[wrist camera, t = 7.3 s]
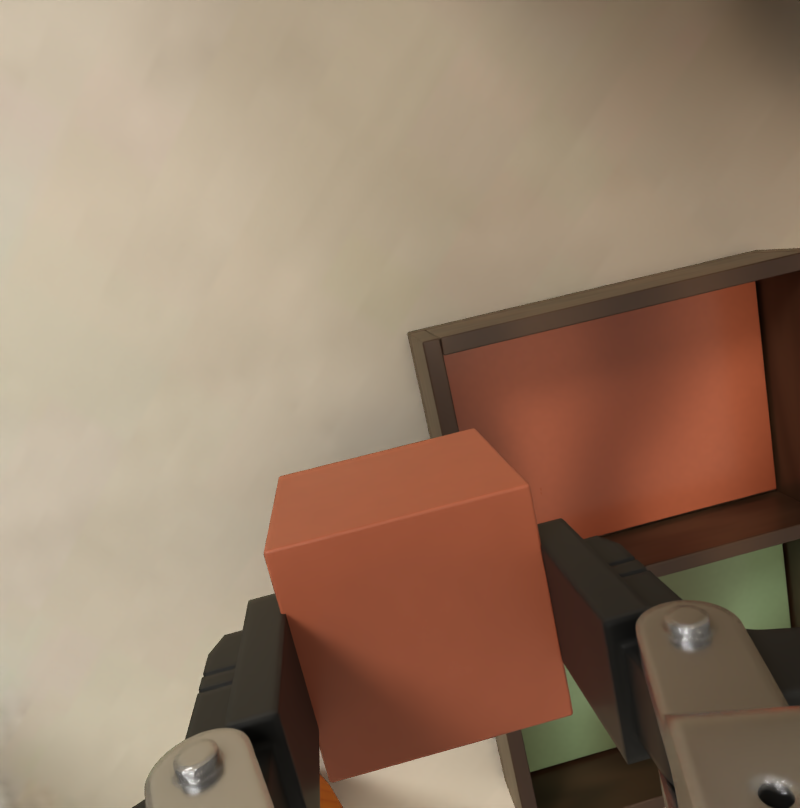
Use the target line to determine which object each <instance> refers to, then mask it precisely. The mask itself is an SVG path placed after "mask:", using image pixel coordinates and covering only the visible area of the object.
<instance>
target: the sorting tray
mask: <svg viewBox="0 0 800 808" xmlns="http://www.w3.org/2000/svg"><path fill="white" fill-rule="evenodd" d="M408 339H409V343H410V348H411V352H412V357H413V361H414V366H415V371H416V375H417V380H418V384H419V389H420V393H421V398H422V403H423V407H424V412H425V416H426V421H427V425H428V430H429V435H430V439H432V438H436V437H440V436H444V435H448V434H452V433H456V432H460V431H465V430H469V429H473V428H474V429H476V430H477V431H478V432H479V433H480V434H481V435H482V436H483V437H484V438H485V439H486V440H487V441H488V442H489V443H490V445H491V446H492V447H493V448H494V449H495V450H496V451H497V452H498V453H499V454H500V455H501V456H502V457H503V458H504V459H505V460H506V461H507V462H508V463H509V464H510V465H511V466H512V467H513V468H514V469H515V470H516V471H517V472H518V473H519V474H520V475H521V476H522V477H523V478H524V480H525V481H526V482H527V483H528V484H529V485H530V488H531V493H532V498H533V504H534V509H535V514H536V519H537V524H540V523H544V522H548V521H551V520H555V519H559V518H562V519H563V520H564V521H566V522H567V523H568V524H569V525H570V526H571V527H572V528H573V529H574V530H575V531H576V532H577V533H578V534H579V535H580V536H581V537H582V538H583V539H586V538H589V537H593V536H599V537H602V538H605V539H608V540H611V541H613V542H616V543H619V544H621V545H622V546H623V547H624V548H625V549H626V550H627V551H628V552H630V553H631V554H632V555H633V556H634V558H635V560H639V561H640V562H641V563H642V564H643V565H644V566H645V567H646V568H647V571H649V570H650V571H651V572H652V573H653V574H654V575H655V576H656V577H658V578H659V579H660V580H661V581H662V582H663V583H664V584H665V585H667V586H668V587H669V588H670V589H671V590H672V591H673V592H674V593H676V594H677V595H678V596H679V597H680V598H681V599H682V600H695V601H704V602H708V603H713V604H716V605H719V606H721V607H724V608H726V609H728V610H729V611H731V612H733V613H734V614H735V615H736V616H737V617H738V618H739V619H740V620H741V622H742V623H743V625H744V627H745V629H755V630H760V629H780V628H795V627H800V248H793V249H772V250H755V251H751V252H746V253H742V254H738V255H734V256H729V257H725V258H721V259H717V260H712V261H708V262H704V263H700V264H695V265H691V266H687V267H683V268H678V269H674V270H670V271H666V272H661V273H657V274H653V275H649V276H644V277H640V278H636V279H632V280H627V281H623V282H619V283H615V284H610V285H606V286H602V287H598V288H594V289H589V290H585V291H581V292H577V293H572V294H568V295H564V296H560V297H555V298H551V299H547V300H543V301H538V302H534V303H530V304H526V305H521V306H517V307H513V308H509V309H504V310H500V311H496V312H492V313H487V314H483V315H479V316H475V317H470V318H466V319H462V320H458V321H453V322H449V323H445V324H441V325H436V326H432V327H428V328H424V329H420V330H415V331H411V332H408ZM564 667H565V672H566V677H567V682H568V688H569V693H570V698H571V703H572V709H573V714H572V715H571V716H567V717H564V718H560V719H557V720H553V721H550V722H546V723H542V724H539V725H535V726H532V727H528V728H525V729H521V730H518V731H514V732H510V733H507V734H503V735H500V736H496V741H497V746H498V751H499V755H500V760H501V764H502V769H503V773H504V778H505V782H506V784H507V787H508V789H509V792H510V795H511V797H512V800H513V803H514V805H515V808H666V807H665V803H664V799H663V795H662V789H661V782H660V776H659V770H658V767H657V766H656V764H655V763H654V761H653V760H652V758H650V759H646V760H643V761H639V762H636V763H633V764H629V765H628V764H627V762H626V761H625V759H624V758H623V756H622V755H621V753H620V751H619V750H618V748H617V747H616V745H615V743H614V742H613V740H612V739H611V737H610V736H609V734H608V732H607V731H606V729H605V728H604V726H603V725H602V723H601V721H600V720H599V718H598V717H597V715H596V714H595V712H594V710H593V709H592V707H591V706H590V704H589V703H588V701H587V699H586V698H585V696H584V695H583V693H582V692H581V690H580V688H579V687H578V685H577V684H576V682H575V681H574V679H573V677H572V676H571V674H570V673H569V671H568V670H567V668H566V666H565V665H564Z"/></svg>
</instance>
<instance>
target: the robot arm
mask: <svg viewBox="0 0 800 808" xmlns="http://www.w3.org/2000/svg"><path fill="white" fill-rule="evenodd" d="M537 525H538V530H539V535H540V540H541V551H542V556H543V562H544V567H545V572H546V577H547V583H548V588H549V593H550V598H551V604H552V609H553V614H554V619H555V624H556V630H557V635H558V640H559V645H560V651H561V656H562V661H563V663H564V665H565V666H566V668H567V670H568V671H569V673H570V674H571V676H572V677H573V679H574V681H575V682H576V684H577V685H578V687H579V688H580V690H581V692H582V693H583V695H584V696H585V698H586V699H587V701H588V703H589V704H590V706H591V707H592V709H593V710H594V712H595V714H596V715H597V717H598V718H599V720H600V721H601V723H602V725H603V726H604V728H605V729H606V731H607V732H608V734H609V736H610V737H611V739H612V740H613V742H614V743H615V745H616V747H617V748H618V750H619V751H620V753H621V755H622V756H623V758H624V759H625V761H626V762H627V764H628V765H629V764H633V763H636V762H639V761H643V760H646V759H650V758H652V760H653V761H654V763H655V764H656V766H657V767H658V770H659V776H660V782H661V789H662V795H663V799H664V803H665V807H666V808H800V627H795V628H780V629H760V630H755V629H745V627H744V625H743V623H742V622H741V620H740V619H739V618H738V617H737V616H736V615H735V614H734V613H733V612H731V611H729V610H728V609H726V608H724V607H721V606H719V605H716V604H713V603H708V602H704V601H695V600H682V599H681V598H680V597H679V596H678V595H677V594H676V593H674V592H673V591H672V590H671V589H670V588H669V587H668V586H667V585H665V584H664V583H663V582H662V581H661V580H660V579H659V578H658V577H656V576H655V575H654V574H653V573H652V572H651V571H650V570H649V571H647V568H646V567H645V566H644V565H643V564H642V563H641V562H640V561H639V560H635V558H634V556H633V555H632V554H631V553H630V552H628V551H627V550H626V549H625V548H624V547H623V546H622V545H621V544H619V543H616V542H613V541H611V540H608V539H605V538H602V537H599V536H593V537H589V538H586V539H583V538H582V537H581V536H580V535H579V534H578V533H577V532H576V531H575V530H574V529H573V528H572V527H571V526H570V525H569V524H568V523H567V522H566V521H564V520H563V519H562V518H559V519H555V520H551V521H548V522H544V523H540V524H537ZM203 675H204V677H203V678H202V680H201V684H200V687H199V694H198V695H197V698H196V702H195V706H194V709H193V713H192V716H191V720H190V724H189V727H188V731H187V735H186V738H185V740H184V741H182V742H181V743H179V744H178V745H176V746H175V747H173V748H172V749H171V750H169V751H168V752H167V753H166V754H165V755H164V756H163V757H162V758H161V759H160V760H159V761H158V762H157V763H156V764H155V766H154V767H153V769H152V770H151V771H150V773H149V775H148V777H147V780H146V783H145V800H143V801H142V802H140V803H139V804H137V805H136V806H134V807H133V808H320V764H319V728H318V724H317V721H316V717H315V714H314V710H313V707H312V704H311V700H310V697H309V693H308V690H307V686H306V683H305V679H304V676H303V672H302V669H301V665H300V662H299V658H298V655H297V652H296V648H295V645H294V641H293V638H292V634H291V631H290V627H289V624H288V620H287V617H286V614H281V612H280V609H279V605H278V602H277V598H276V595H275V594H271V595H268V596H264V597H260V598H256V599H253V600H249V602H248V606H247V611H246V616H245V621H244V626H243V630H242V631H238V632H234V633H231V634H227V635H224V637H223V638H222V639H221V640H220V641H219V643H218V644H217V645H216V646H215V647H214V649H213V650H212V651H211V652H210V653H209V655H208V658H207V662H206V665H205V669H204V673H203Z"/></svg>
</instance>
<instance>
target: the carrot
mask: <svg viewBox="0 0 800 808" xmlns="http://www.w3.org/2000/svg"><path fill="white" fill-rule="evenodd" d="M320 808H343V807H342V805H341V803H340V801H339V800H338V798H337V796H336V795H335V793H334V791H333V790H332V788H331V787H330V785H329V784H328V782H327V781H326V780H325V779H324V778H323V777H322V776H321V775H320Z"/></svg>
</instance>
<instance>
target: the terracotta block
mask: <svg viewBox="0 0 800 808" xmlns="http://www.w3.org/2000/svg"><path fill="white" fill-rule="evenodd" d="M264 557H265V560H266V564H267V567H268V571H269V574H270V578H271V581H272V585H273V588H274V592H275V595H276V598H277V602H278V605H279V609H280V612H281V614H286V617H287V620H288V624H289V627H290V631H291V634H292V638H293V641H294V645H295V648H296V652H297V655H298V658H299V662H300V665H301V669H302V672H303V676H304V679H305V683H306V686H307V690H308V693H309V697H310V700H311V704H312V707H313V710H314V714H315V717H316V721H317V724H318V728H319V747H320V751H321V754H322V758H323V761H324V764H325V768H326V771H327V775H328V778H329V780H330V782H336V781H340V780H343V779H347V778H351V777H354V776H358V775H361V774H365V773H368V772H372V771H375V770H379V769H382V768H386V767H390V766H393V765H397V764H400V763H404V762H407V761H411V760H414V759H418V758H422V757H425V756H429V755H432V754H436V753H439V752H443V751H446V750H450V749H454V748H457V747H461V746H464V745H468V744H471V743H475V742H478V741H482V740H486V739H489V738H493V737H496V736H500V735H503V734H507V733H510V732H514V731H518V730H521V729H525V728H528V727H532V726H535V725H539V724H542V723H546V722H550V721H553V720H557V719H560V718H564V717H567V716H571V715H572V714H573V709H572V703H571V698H570V693H569V688H568V682H567V677H566V672H565V667H564V663H563V661H562V656H561V651H560V645H559V640H558V635H557V630H556V624H555V619H554V614H553V609H552V604H551V598H550V593H549V588H548V583H547V577H546V572H545V567H544V562H543V556H542V551H541V540H540V535H539V530H538V525H537V519H536V514H535V509H534V504H533V498H532V493H531V488H530V485H529V484H528V483H527V482H526V481H525V480H524V478H523V477H522V476H521V475H520V474H519V473H518V472H517V471H516V470H515V469H514V468H513V467H512V466H511V465H510V464H509V463H508V462H507V461H506V460H505V459H504V458H503V457H502V456H501V455H500V454H499V453H498V452H497V451H496V450H495V449H494V448H493V447H492V446H491V445H490V443H489V442H488V441H487V440H486V439H485V438H484V437H483V436H482V435H481V434H480V433H479V432H478V431H477V430H476V429H474V428H473V429H469V430H465V431H460V432H456V433H452V434H448V435H444V436H440V437H436V438H432V439H428V440H424V441H420V442H416V443H412V444H408V445H404V446H400V447H396V448H392V449H388V450H384V451H380V452H376V453H372V454H368V455H364V456H360V457H356V458H352V459H348V460H344V461H340V462H336V463H332V464H328V465H324V466H320V467H316V468H312V469H308V470H304V471H300V472H296V473H292V474H288V475H284V476H280V477H279V480H278V485H277V490H276V495H275V500H274V505H273V510H272V515H271V520H270V525H269V530H268V535H267V540H266V545H265V550H264Z"/></svg>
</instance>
